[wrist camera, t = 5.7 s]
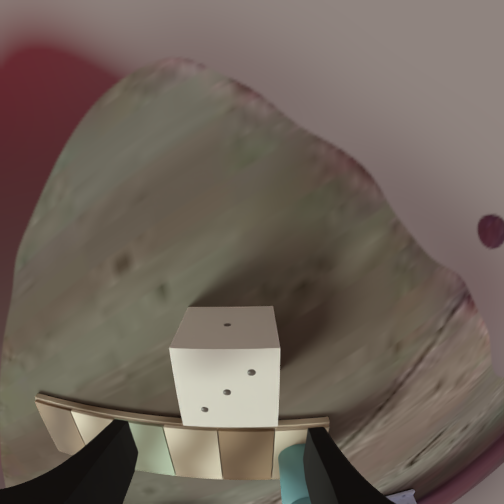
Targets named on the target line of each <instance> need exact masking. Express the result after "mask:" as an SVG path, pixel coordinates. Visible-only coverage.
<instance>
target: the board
mask: <svg viewBox="0 0 504 504" xmlns="http://www.w3.org/2000/svg"><path fill="white" fill-rule="evenodd" d="M35 399H36V401H35V403H36V406H37V408H38V410H39V412H40V414H41V417H42V419H43V421H44V423H45V425H46V427H47V429H48V431H49V433H50V435H51V437H52V439H53V441H54V443H55V445H56V447H57V448H58V450H59V451H61V452H64V453H67V454H71V455H74V454H76V453H77V452H78V451H79V450H81V449H82V448H83V447H84V446H85V445H87V444H88V443H89V442H90V441H91V440H92V439H93V438H95V437H96V436H97V435H98V434H99V433H100V432H101V431H102V430H103V429H104V428H105V427H106V426H108V425H109V424H110V423H111V422H112V421H113V420H114V419H118V420H124V421H128V423H129V426H130V429H131V432H132V435H133V438H134V441H135V444H136V447H137V449H138V457H137V462H136V467H135V470H139V471H145V472H152V473H159V474H166V475H174V476H175V475H176V476H183V477H194V478H208V479H229V480H267V479H280V473H279V463H278V456H279V454H280V452H281V451H282V450H284V449H285V448H287V447H289V446H292V445H296V444H305V443H306V437H307V430H308V428H313V427H324V428H325V429H326V430H327V432H329V423H330V421H329V418H328V417H320V418H307V419H291V420H278V426H277V427H199V426H183V422H182V418H174V417H164V416H154V415H146V414H138V413H131V412H124V411H118V410H112V409H106V408H100V407H95V406H90V405H85V404H80V403H76V402H71V401H67V400H63V399H58V398H54V397H50V396H47V395H43V394H39V393H38V394H37V395H36V396H35Z"/></svg>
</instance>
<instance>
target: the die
mask: <svg viewBox="0 0 504 504" xmlns="http://www.w3.org/2000/svg"><path fill="white" fill-rule="evenodd" d="M169 350H170V357H171V363H172V369H173V375H174V380H175V386H176V392H177V397H178V402H179V407H180V412H181V417H182V422H183V426H199V427H277V426H278V410H279V381H280V343H279V337H278V332H277V326H276V321H275V315H274V309H273V306H250V307H188V308H187V310H186V312H185V315H184V317H183V319H182V321H181V323H180V325H179V328H178V330H177V332H176V334H175V336H174V339H173V341H172V343H171V345H170V347H169Z"/></svg>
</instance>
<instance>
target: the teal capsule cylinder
mask: <svg viewBox="0 0 504 504" xmlns="http://www.w3.org/2000/svg"><path fill="white" fill-rule="evenodd" d="M304 449H305V444H296V445H292V446H289V447H287V448H285V449H284V450H282V451H281V452H280V454H279V456H278V463H279V473H280V484H281V495H282V504H311V501H310V497H309V493H308V489H307V485H306V481H305V474H304V464H303V455H304Z"/></svg>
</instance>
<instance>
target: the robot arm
mask: <svg viewBox="0 0 504 504" xmlns="http://www.w3.org/2000/svg"><path fill="white" fill-rule="evenodd" d="M137 457H138V449H137V447H136V444H135V441H134V438H133V435H132V432H131V429H130V426H129V423H128V421H124V420H118V419H114V420H113V421H112V422H111V423H110V424H109V425H108V426H106V427H105V428H104V429H103V430H102V431H101V432H100V433H99V434H98V435H97V436H96V437H95V438H93V439H92V440H91V441H90V442H89V443H88V444H87V445H85V446H84V447H83V448H82V449H81V450H79V451H78V452H77V453H76V454H74V455H73V456H72V457H70V458H69V459H68V460H66V461H65V462H63V463H62V464H61V465H59V466H57V467H56V468H54V469H52V470H51V471H49V472H47V473H45V474H43V475H41V476H39V477H37V478H34V479H32V480H30V481H27V482H25V483H22V484H19V485H16V486H13V487H9V488H5V489H0V504H123V501H124V498H125V496H126V493H127V490H128V488H129V485H130V482H131V479H132V477H133V474H134V471H135V467H136V462H137ZM303 464H304V474H305V481H306V485H307V489H308V493H309V497H310V501H311V504H417V503H416V501H415V498H414V496H413V494H414V493H415V490H414V489H411V490H408V491H404V492H401V493H397V494H393V495H389V496H384V495H383V494H382V493H380V492H379V491H378V490H377V489H376V488H374V487H373V486H372V485H371V484H370V483H369V482H368V481H367V480H366V479H365V478H364V477H363V476H362V475H361V474H360V473H359V472H358V471H357V470H356V469H355V468H354V467H353V466H352V464H351V463H350V462H349V461H348V460H347V458H346V457H345V456H344V455H343V453H342V452H341V451H340V449H339V448H338V447H337V445H336V444H335V443H334V441H333V440H332V438H331V437H330V435H329V433H328V432H327V430H326V429H325V428H324V427H313V428H308V430H307V437H306V443H305V449H304V455H303Z"/></svg>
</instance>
